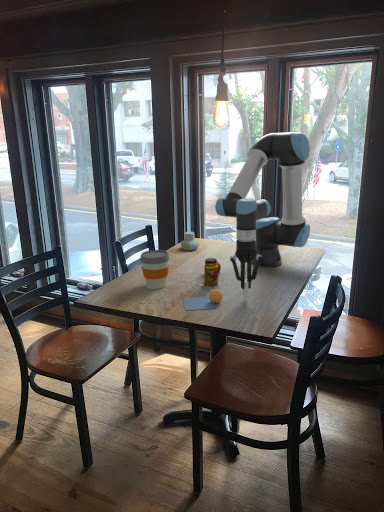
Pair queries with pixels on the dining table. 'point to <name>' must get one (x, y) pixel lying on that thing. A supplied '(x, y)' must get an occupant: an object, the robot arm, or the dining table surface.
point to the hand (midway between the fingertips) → (245, 295)
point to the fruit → (218, 267)
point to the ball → (215, 296)
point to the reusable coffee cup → (155, 268)
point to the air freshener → (189, 242)
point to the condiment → (210, 273)
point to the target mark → (198, 303)
